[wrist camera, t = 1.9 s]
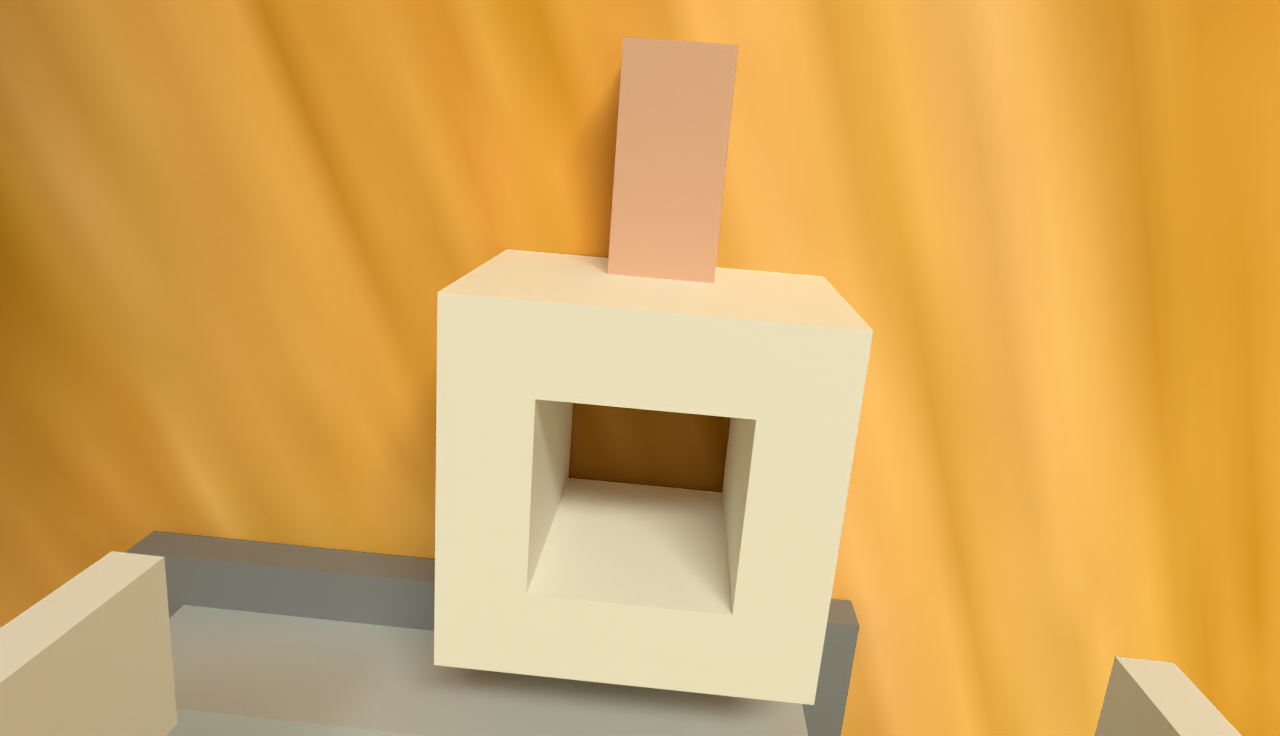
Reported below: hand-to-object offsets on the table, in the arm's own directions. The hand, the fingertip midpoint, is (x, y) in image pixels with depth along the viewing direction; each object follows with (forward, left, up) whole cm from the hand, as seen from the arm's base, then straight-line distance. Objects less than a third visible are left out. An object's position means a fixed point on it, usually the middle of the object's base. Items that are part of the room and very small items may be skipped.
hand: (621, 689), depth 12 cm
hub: (-3, 0, -11) cm, 11 cm away
